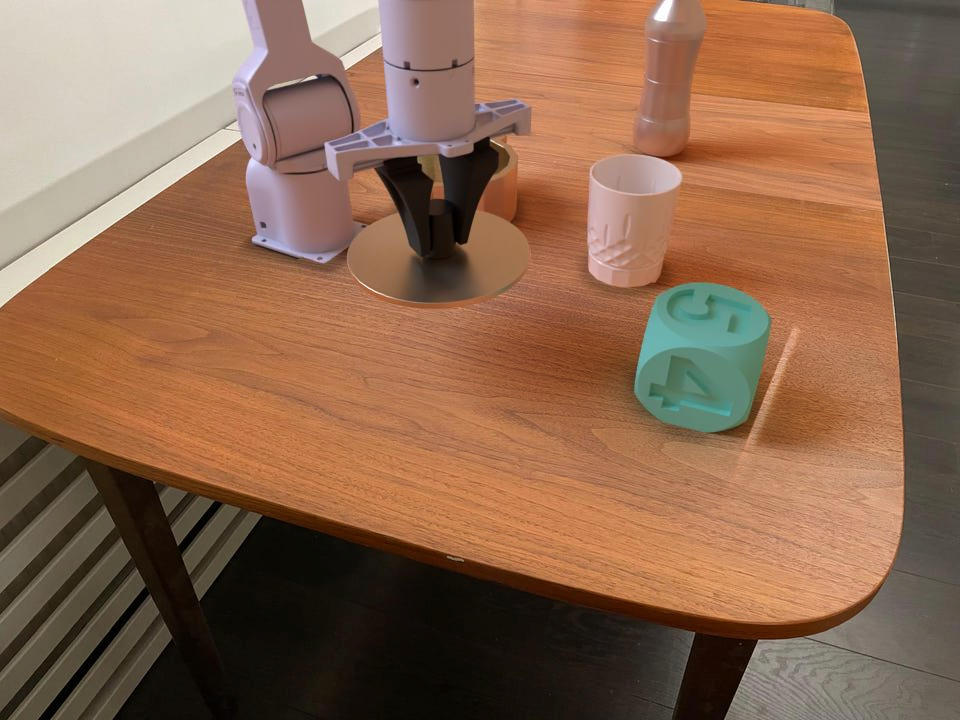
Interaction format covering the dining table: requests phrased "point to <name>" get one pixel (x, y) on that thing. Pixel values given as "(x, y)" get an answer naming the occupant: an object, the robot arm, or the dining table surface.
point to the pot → (498, 191)
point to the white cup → (630, 217)
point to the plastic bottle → (668, 76)
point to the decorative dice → (702, 356)
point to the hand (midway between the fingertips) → (438, 244)
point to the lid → (439, 260)
